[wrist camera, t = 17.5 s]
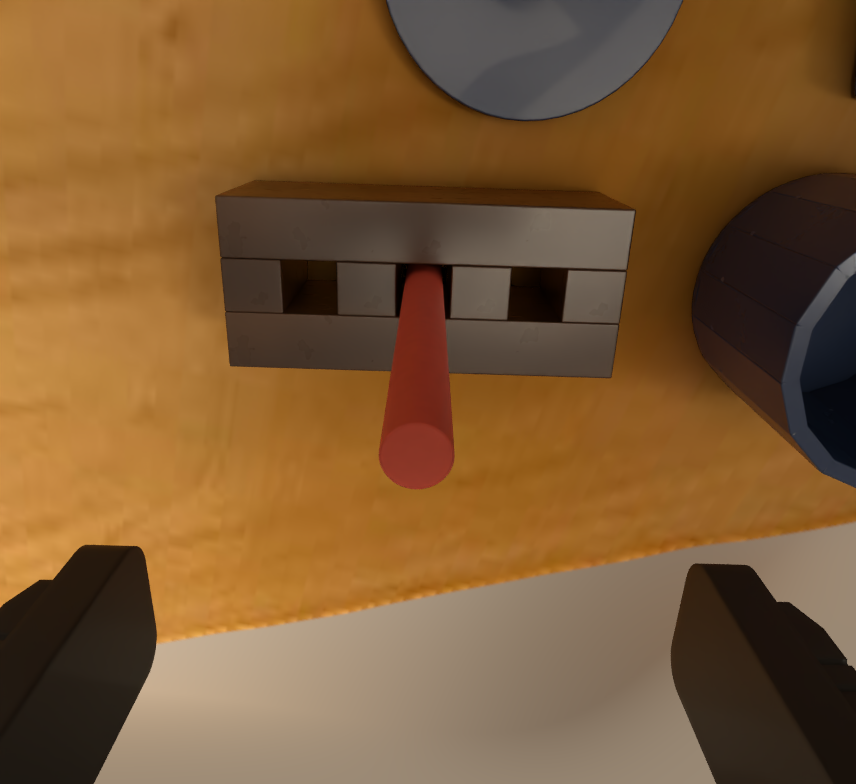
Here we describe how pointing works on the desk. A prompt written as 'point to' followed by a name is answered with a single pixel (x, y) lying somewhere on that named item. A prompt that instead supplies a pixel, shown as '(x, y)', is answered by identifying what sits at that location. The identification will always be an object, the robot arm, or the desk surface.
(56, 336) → the desk surface
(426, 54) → the tin lid
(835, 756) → the robot arm
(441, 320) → the straw
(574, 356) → the straw holder
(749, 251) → the tin
